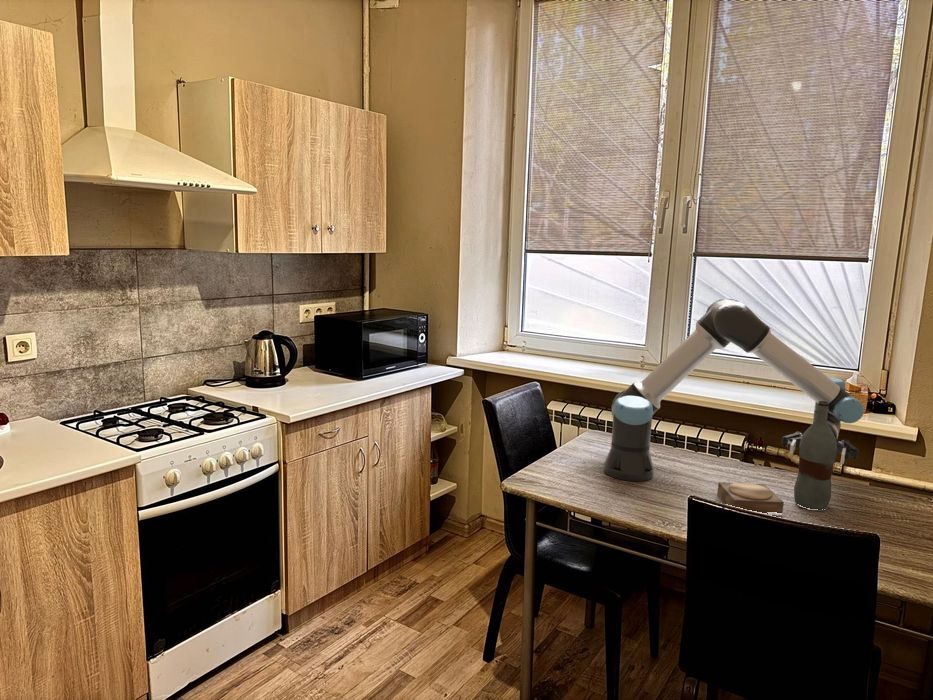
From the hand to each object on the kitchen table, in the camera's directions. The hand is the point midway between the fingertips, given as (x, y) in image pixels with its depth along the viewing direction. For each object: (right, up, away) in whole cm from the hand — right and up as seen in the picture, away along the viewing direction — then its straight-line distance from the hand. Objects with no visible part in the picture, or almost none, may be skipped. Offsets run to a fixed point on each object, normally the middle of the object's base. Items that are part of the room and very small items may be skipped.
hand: (816, 454), depth 180 cm
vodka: (+2, -15, +6) cm, 17 cm away
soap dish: (-16, -15, +5) cm, 23 cm away
